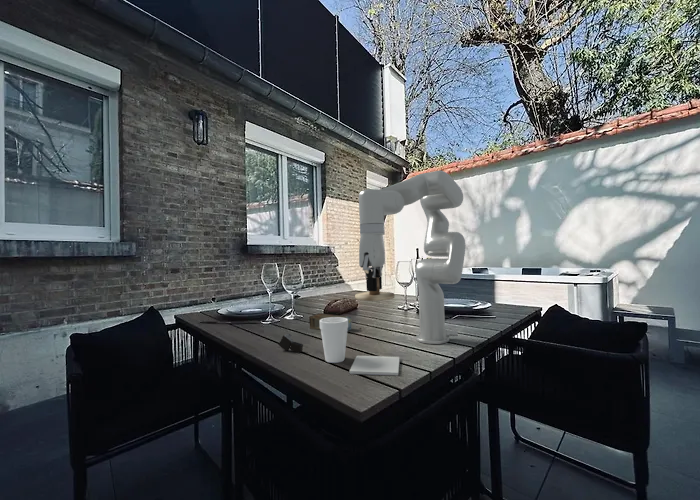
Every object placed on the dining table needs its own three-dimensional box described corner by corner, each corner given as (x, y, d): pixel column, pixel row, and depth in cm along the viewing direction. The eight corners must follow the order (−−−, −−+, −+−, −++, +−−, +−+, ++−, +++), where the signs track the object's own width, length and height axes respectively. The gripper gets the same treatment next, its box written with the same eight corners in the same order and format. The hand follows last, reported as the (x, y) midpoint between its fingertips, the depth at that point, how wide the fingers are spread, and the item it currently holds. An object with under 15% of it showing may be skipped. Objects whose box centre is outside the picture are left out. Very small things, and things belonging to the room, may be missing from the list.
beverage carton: (342, 333, 145) (342, 318, 145) (308, 329, 154) (308, 315, 154) (352, 329, 151) (351, 315, 151) (318, 325, 161) (318, 312, 161)
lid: (394, 294, 107) (394, 275, 107) (393, 300, 96) (392, 279, 96) (358, 294, 109) (357, 276, 109) (352, 301, 98) (351, 280, 98)
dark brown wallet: (299, 357, 121) (306, 345, 120) (295, 359, 119) (303, 346, 117) (281, 342, 123) (288, 330, 122) (278, 344, 121) (284, 332, 120)
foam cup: (350, 355, 114) (349, 316, 114) (347, 364, 104) (346, 322, 104) (323, 355, 115) (322, 317, 115) (317, 364, 105) (316, 323, 105)
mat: (399, 359, 108) (399, 356, 108) (398, 375, 94) (398, 372, 94) (356, 358, 110) (356, 355, 110) (349, 373, 97) (349, 370, 97)
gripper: (371, 231, 111) (373, 286, 112) (349, 230, 97) (351, 293, 97) (392, 230, 108) (394, 287, 108) (372, 228, 93) (375, 294, 93)
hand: (374, 289), depth 102 cm, fingers closed on lid, 3 cm apart
